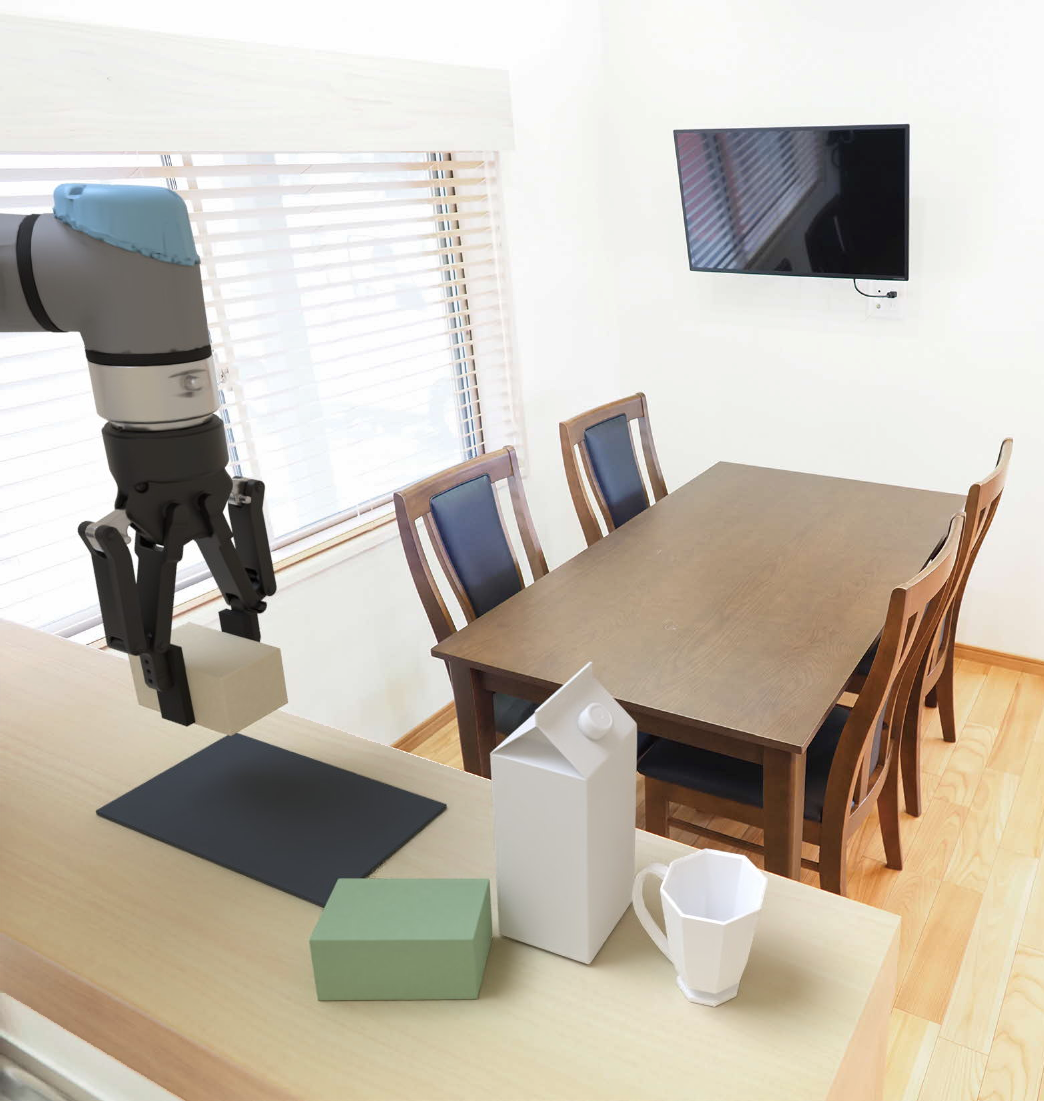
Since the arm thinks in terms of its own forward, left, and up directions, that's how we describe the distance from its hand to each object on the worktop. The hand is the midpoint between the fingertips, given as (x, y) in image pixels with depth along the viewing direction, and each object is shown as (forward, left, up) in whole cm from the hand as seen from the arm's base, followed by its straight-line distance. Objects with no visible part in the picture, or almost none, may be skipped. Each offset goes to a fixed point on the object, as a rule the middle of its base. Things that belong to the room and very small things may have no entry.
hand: (213, 701), depth 75 cm
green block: (+10, -25, -9) cm, 28 cm away
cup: (+27, -33, -9) cm, 44 cm away
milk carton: (+21, -25, -9) cm, 34 cm away
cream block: (0, 0, 0) cm, 0 cm away
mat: (+3, -4, -9) cm, 10 cm away
